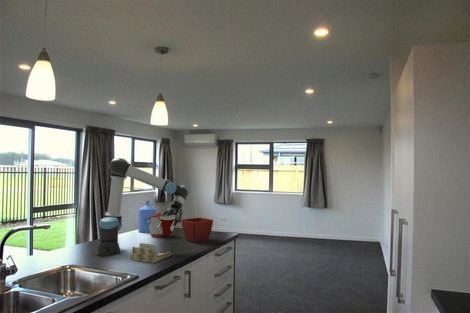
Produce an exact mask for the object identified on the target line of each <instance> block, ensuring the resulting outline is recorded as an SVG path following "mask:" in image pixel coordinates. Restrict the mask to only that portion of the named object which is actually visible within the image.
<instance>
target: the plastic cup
mask: <svg viewBox="0 0 470 313" xmlns="http://www.w3.org/2000/svg"><path fill="white" fill-rule="evenodd" d="M160 219H161V225H162V231H163V235H165V236H171V235H172V234H173V231H171V229H170V227H171V225H172V223H173V221H175V215H174V216H173V215H171V216H162V217H160Z"/></svg>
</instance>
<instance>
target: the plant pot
mask: <svg viewBox="0 0 470 313" xmlns="http://www.w3.org/2000/svg"><path fill="white" fill-rule="evenodd" d="M180 223H181V227H182V232H183V235H184V238H185V240H186V241H188V242H191V243H195V244H196V243H202V242H208V241H209V238H210V235H211V233H212V228H213V224H214V219H211V218H205V217H194V218H192V217H191V218H184V219H183V218H181V222H180Z"/></svg>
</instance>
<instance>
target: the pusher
mask: <svg viewBox="0 0 470 313" xmlns="http://www.w3.org/2000/svg"><path fill="white" fill-rule="evenodd" d="M138 248H147V249H153V257H156V256H158V253H159V244H153V243H144V242H139V247H138Z"/></svg>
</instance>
